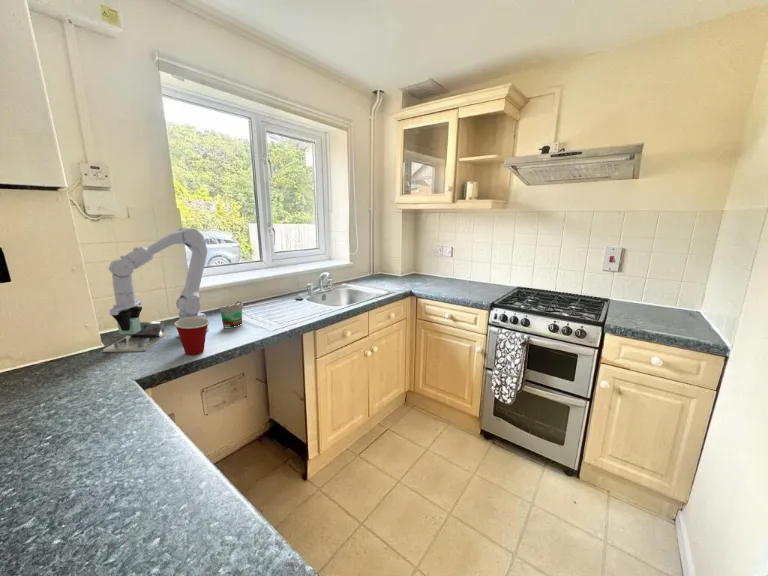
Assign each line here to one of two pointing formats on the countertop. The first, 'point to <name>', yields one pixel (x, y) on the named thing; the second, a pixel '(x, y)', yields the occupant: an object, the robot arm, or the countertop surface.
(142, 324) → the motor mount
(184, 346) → the plastic cup
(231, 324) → the food container
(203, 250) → the robot arm
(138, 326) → the pump block
